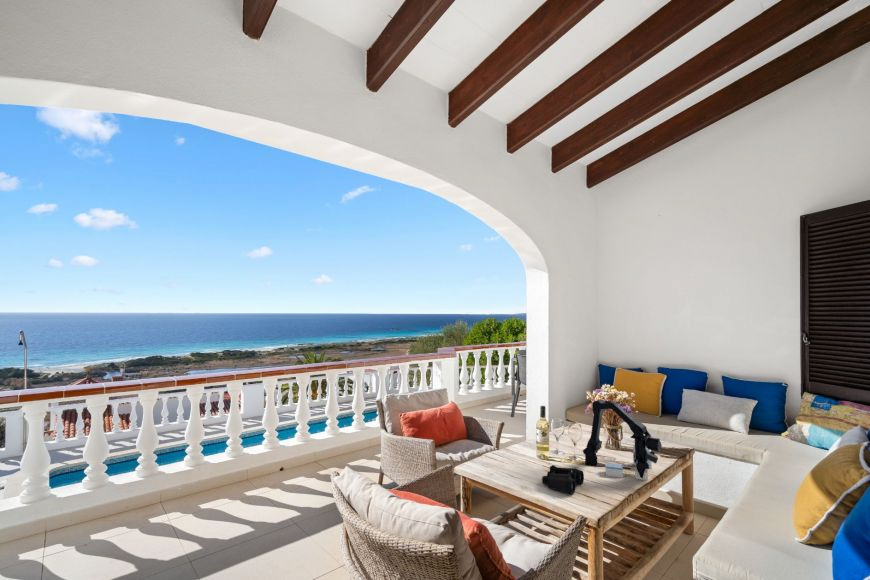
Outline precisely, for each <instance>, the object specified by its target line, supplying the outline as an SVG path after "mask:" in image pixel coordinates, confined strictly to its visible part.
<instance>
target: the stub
mask: <svg viewBox="0 0 870 580" xmlns="http://www.w3.org/2000/svg"><path fill="white" fill-rule="evenodd" d="M648 473H649V471H648V469H645V471H644V475H643V478H641V477H640V474H639V472H638V470H637V467H636V465H634V476H635V477H634V478H635V479H636V480H644V481H648V480H649V475H648Z"/></svg>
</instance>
